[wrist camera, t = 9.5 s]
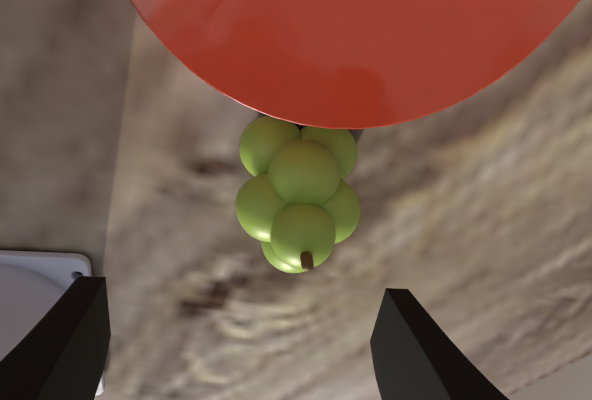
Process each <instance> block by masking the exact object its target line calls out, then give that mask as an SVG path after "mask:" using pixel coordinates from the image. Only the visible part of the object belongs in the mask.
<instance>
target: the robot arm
mask: <svg viewBox="0 0 592 400" xmlns="http://www.w3.org/2000/svg"><path fill="white" fill-rule="evenodd" d="M76 271H78V272H81V273H82V274H81V275H80V274H77V273H75V272H76ZM110 336H111V332H110V321H109V310H108V300H107V289H106V278H105V277H92V273H91V265H90V261H89V259H88V258H87V257H86V256H84V255H82V254H77V253H53V252H29V251H5V250H0V400H94V398H95V395H99V394H101V393H103V392H104V388H105V378H104V365H105V361H106V356H107V351H108V346H109V341H110ZM370 344H371V351H372V358H373V365H374V370H375V376H376V380H377V384H378V388H379V391H380V395H381V398H382V400H509V399H508V398H507V397H506V396H504V395H503V394H502V393H501V392H500V391H499V390H498V389H497V388H496V387H495V386H494V385H493V384H492V383H491V382H490V381H488V379H487V378H486V377H485V376H484V375H483V374H482V373H481V372H480V371H479V370H478V369H477V368H476V367H475V366H474V365H473V364H472V363H471V362H470V361H469V360H468V359H467V358H466V357H465V356H464V355H463V353H462V352H461V351H460V350H459V349H458V348H457V347H456V346H455V345H454V343H453V342H452V341H451V340H450V339H449V338H448V337H447V335H446V334H445V333H444V332H443V331H442V330H441V328H440V327H439V326H438V325H437V324H436V322H435V321H434V320H433V319H432V318H431V316H430V315H429V314H428V313H427V312H426V310H425V309H424V308H423V307H422V306H421V304H420V303H419V302H418V301H417V299H416V298H415V297H414V296H413V295H412V293H411V292H410V291H409V290H408V289H391V288H386V290H385V293H384V297H383V300H382V303H381V307H380V310H379V313H378V317H377V320H376V323H375V327H374V330H373V333H372V337H371V340H370Z"/></svg>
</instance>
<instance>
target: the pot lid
mask: <svg viewBox="0 0 592 400" xmlns="http://www.w3.org/2000/svg"><path fill="white" fill-rule="evenodd" d="M130 1H131V3H132V4H133V6H134V7H135V9H136V10H137V12H138V13H139V15H140V16H141V18H142V19H143V21H144V22H145V23H146V24H147V26H148V27H149V28H150V29H151V30H152V32H153V33H154V34H155V35H156V36H157V38H158V39H159V40H160V41H161V42H162V43H163V45H164V46H165V47H166V48H167V49H168V50H169V51H170V52H171V53H172V54H173V55H174V56H175V57H176V58H177V59H179V60H180V61H181V62H182V63H183V64H184V65H185V66H186V67H187V68H188V69H189V70H190V71H191V72H193V73H194V74H195V75H197V76H198V77H199V78H201V79H202V80H204V81H205V82H206V83H208V84H209V85H210V86H212V87H213V88H214V89H216V90H217V91H219V92H221V93H222V94H224V95H226V96H228V97H230V98H231V99H233V100H235V101H237V102H238V103H240V104H242V105H244V106H246V107H249V108H251V109H253V110H256V111H258V112H261V113H263V114H266V115H268V116H271V117H274V118H277V119H281V120H285V121H289V122H292V123H296V124H300V125H306V126H313V127H320V128H328V129H363V128H373V127H383V126H389V125H393V124H398V123H402V122H407V121H411V120H415V119H418V118H421V117H424V116H426V115H429V114H432V113H435V112H438V111H441V110H443V109H445V108H448V107H450V106H452V105H454V104H456V103H458V102H460V101H462V100H464V99H466V98H469V97H471V96H472V95H474V94H475V93H477V92H479V91H480V90H482V89H484V88H485V87H487V86H488V85H490V84H492V83H493V82H495V81H497V80H498V79H499V78H501V77H502V76H503V75H505V74H506V73H507V72H508V71H510V70H511V69H512V68H514V67H515V66H516V65H518V64H519V63H520V62H521V61H523V60H524V59H525V58H526V57H527V56H528V55H529V54H530V53H531V52H533V51H534V50H535V49H536V48H537V47H538V46H539V45H540V44H541V43H542V42H543V41H544V40H545V39H546V38H547V37H549V35H550V34H551V33H552V32H553V31H554V30H555V29H556V28H557V26H558V25H559V24H560V23H561V22H562V21H563V20H564V18H565V17H566V16H567V15H568V14H569V13H570V12H571V10H572V9H573V8H574V7H575V5H576V4H577V3H578V1H579V0H130Z"/></svg>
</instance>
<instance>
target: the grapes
mask: <svg viewBox="0 0 592 400" xmlns="http://www.w3.org/2000/svg"><path fill="white" fill-rule="evenodd" d="M239 152H240V157H241V160H242V163H243V165H244V166H245V168H246V169H247V170H248V171H249V172H250V173H251V174H252V175H253V176H255V177H253V178H251V179H250V180H248V181H247V182H246V183H245V184H244V185H243V186H242V187H241V188H240V190H239V192H238V194H237V197H236V202H235V210H236V214H237V217H238V219H239V222H240V224H241V226H242V227H243V229H244V230H245V231H246V232H247V233H248V234H249V235H251V236H252V237H254V238H256V239H258V240H261V246H262V250H263V253H264V255H265V257H266V258H267V260H268V261H269V262H270V263H271V264H272V265H273V266H274V267H276V268H277V269H279V270H281V271H284V272H288V273H300V272H304V271H310V270H312V269H313V267H314V266H317V265H319V264H321V263H322V262H323V261H324V260H326V259H327V258H328V256H329V255H330V253H331V252H332V250H333V248H334V245H335V243H338V242H341V241H343V240H344V239H346V238H347V237H348V236H349V235H351V234H352V232H353V231H354V230H355V228H356V226H357V224H358V222H359V219H360V202H359V199H358V196H357V194H356V193H355V191H354V190H353V188H352V187H351V186H350V185H349V184H347V183H346V182H345V181H343V180H342V179H344V178H345V177H346V176H347V175H348V174H349V173H350V171H351V170H352V168H353V167H354V164H355V161H356V157H357V147H356V143H355V140H354V138H353V136H352V134H351V133H350V131H349V130H348V129H328V128H320V127H313V126H304V127H303V128H302V129H301V130H299V128H298V127H297V126H296V125H295V124H294V123H292V122H289V121H285V120H281V119H277V118H274V117H271V116H263V117H260V118H258V119H256V120H254V121H253V122H252V123H250V124H249V125H248V126H247V128H246V129H245V130H244V132H243V134H242V136H241V139H240V144H239Z"/></svg>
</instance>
